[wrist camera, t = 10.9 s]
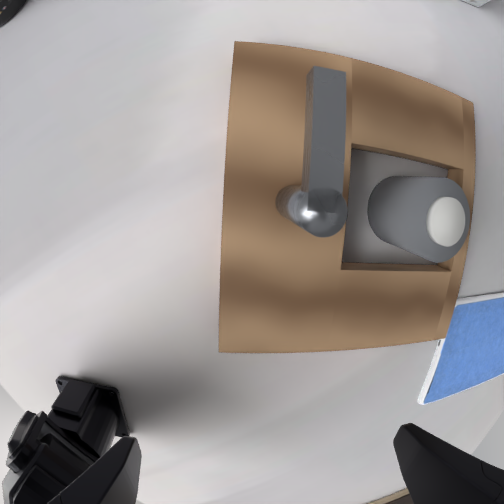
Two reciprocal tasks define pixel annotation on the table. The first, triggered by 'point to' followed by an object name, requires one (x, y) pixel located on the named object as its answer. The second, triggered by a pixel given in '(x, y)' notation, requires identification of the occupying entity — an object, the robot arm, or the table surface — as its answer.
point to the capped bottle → (420, 215)
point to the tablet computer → (468, 348)
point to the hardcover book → (396, 498)
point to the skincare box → (476, 2)
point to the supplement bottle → (9, 9)
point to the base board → (331, 248)
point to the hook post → (320, 158)
